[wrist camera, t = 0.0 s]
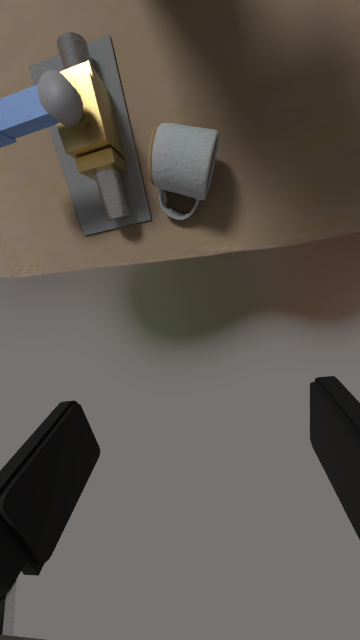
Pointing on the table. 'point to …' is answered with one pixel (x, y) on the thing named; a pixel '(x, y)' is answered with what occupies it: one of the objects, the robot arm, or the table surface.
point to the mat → (87, 188)
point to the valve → (94, 128)
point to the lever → (39, 107)
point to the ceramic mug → (182, 162)
